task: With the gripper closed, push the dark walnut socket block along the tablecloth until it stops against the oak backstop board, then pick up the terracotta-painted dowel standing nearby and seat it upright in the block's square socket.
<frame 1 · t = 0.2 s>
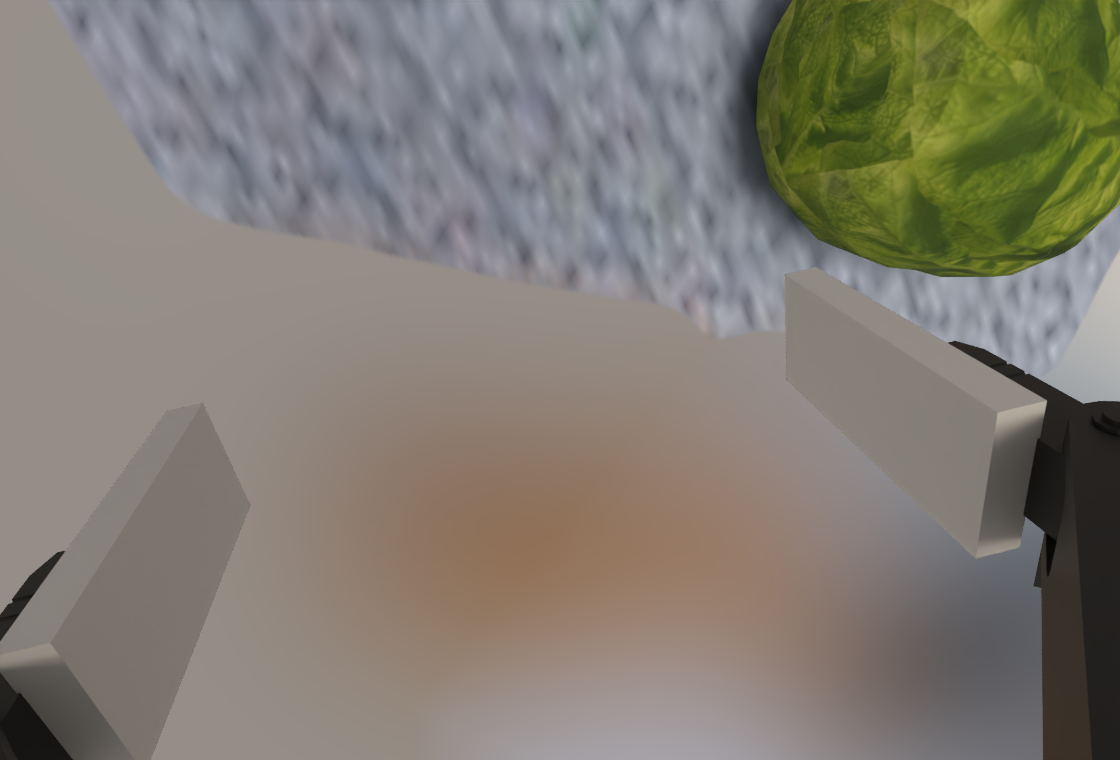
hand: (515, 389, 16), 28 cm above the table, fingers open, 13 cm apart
lettuce: (882, 113, 43), on the table
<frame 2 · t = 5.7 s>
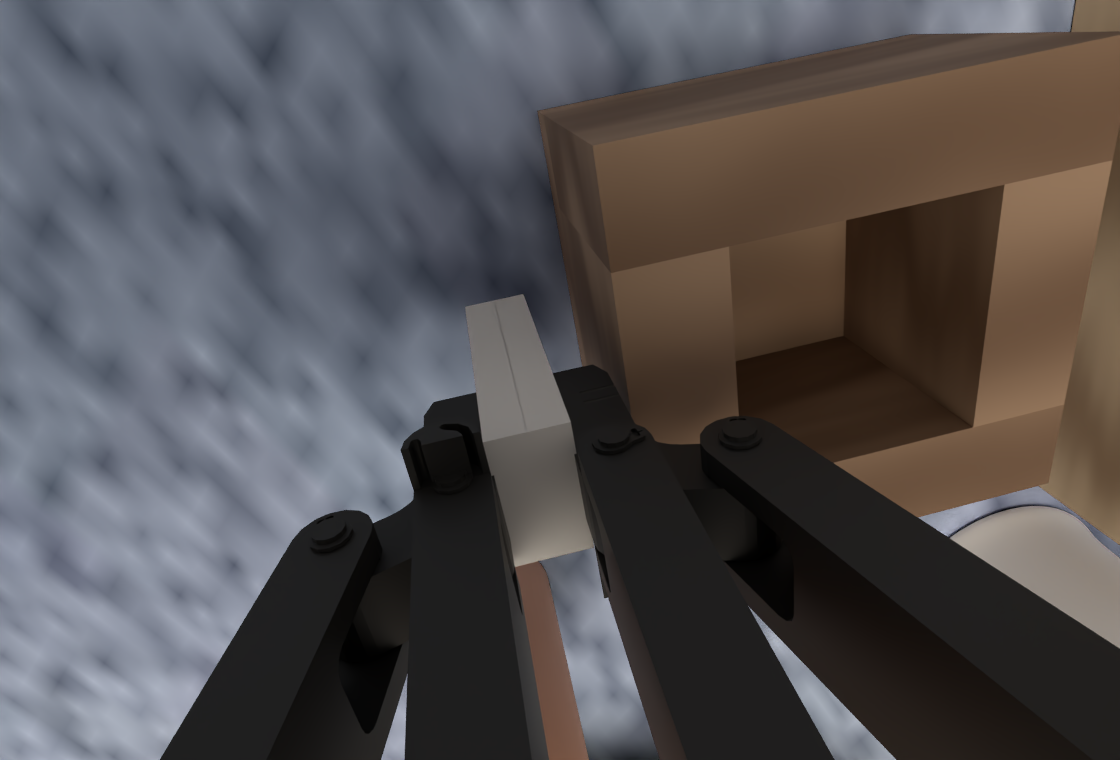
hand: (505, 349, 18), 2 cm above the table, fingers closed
mug: (1021, 582, 29), on the table
block: (790, 294, 17), point 3 cm above the table, slide at 1.3 cm, touching gripper
backstop: (1092, 177, 21), on the table
dowel: (497, 590, 24), on the table
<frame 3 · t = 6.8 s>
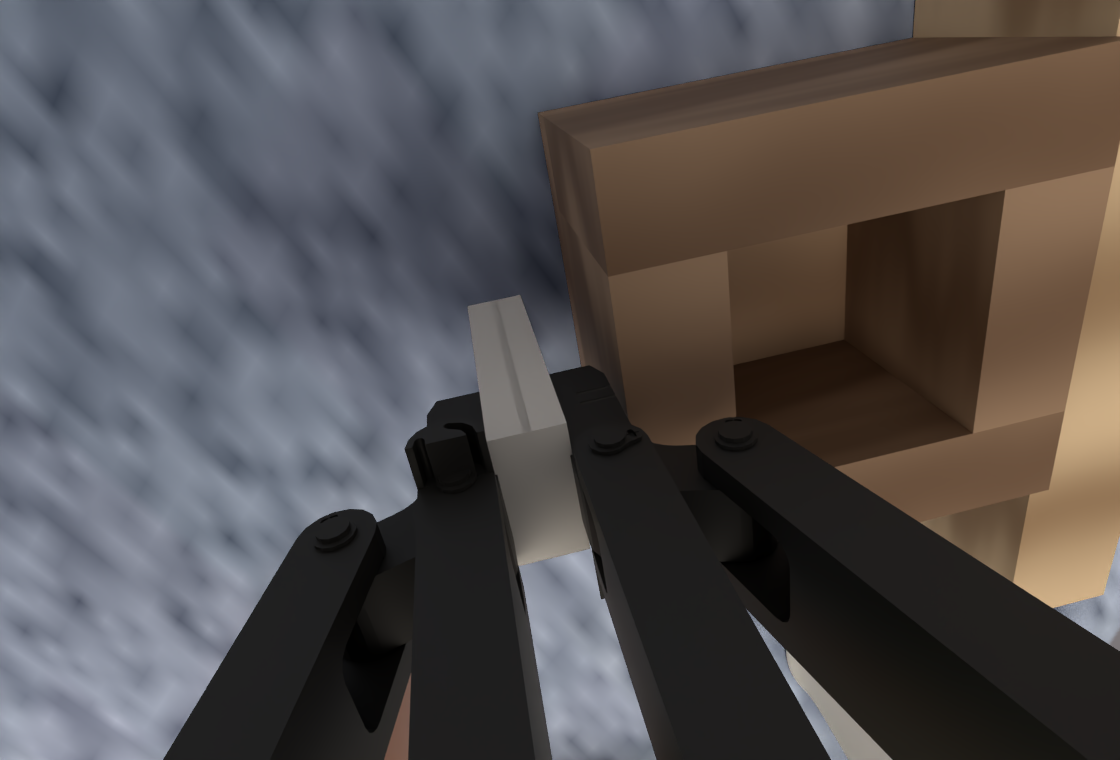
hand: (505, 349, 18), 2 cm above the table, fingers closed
mug: (916, 615, 28), on the table
block: (789, 298, 17), point 3 cm above the table, slide at 6.0 cm, touching backstop, gripper
backstop: (948, 214, 20), on the table
dowel: (360, 625, 23), on the table
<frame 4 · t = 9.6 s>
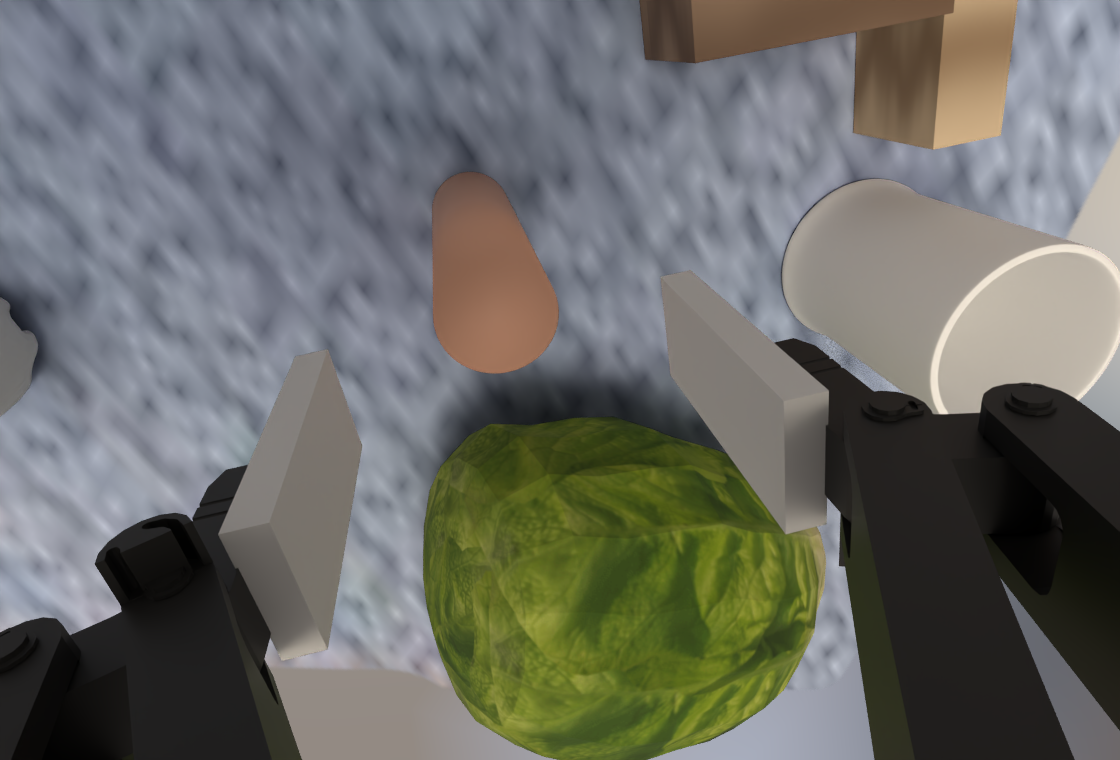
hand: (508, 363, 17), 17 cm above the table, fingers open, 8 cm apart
mug: (881, 259, 37), on the table
lettuce: (604, 495, 41), on the table
dowel: (471, 211, 32), on the table
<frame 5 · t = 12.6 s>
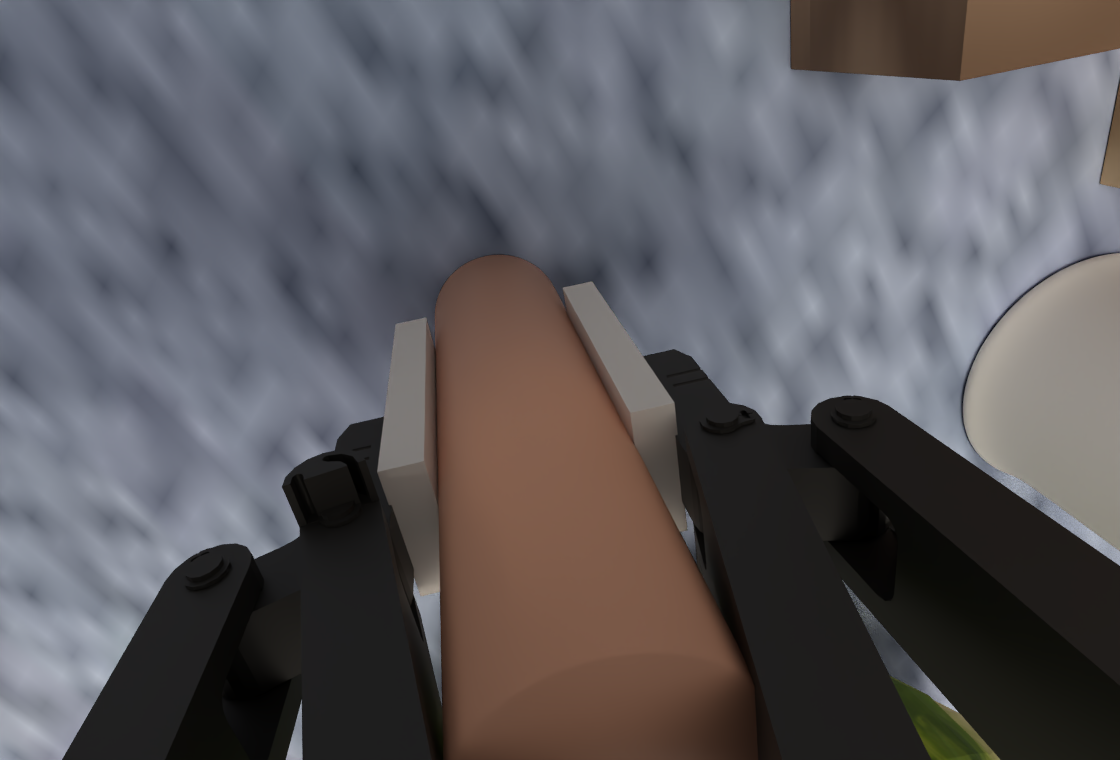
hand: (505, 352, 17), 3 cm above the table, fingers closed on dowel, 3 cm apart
mug: (1106, 367, 25), on the table
lettuce: (679, 690, 28), on the table
dowel: (498, 316, 20), on the table, touching gripper
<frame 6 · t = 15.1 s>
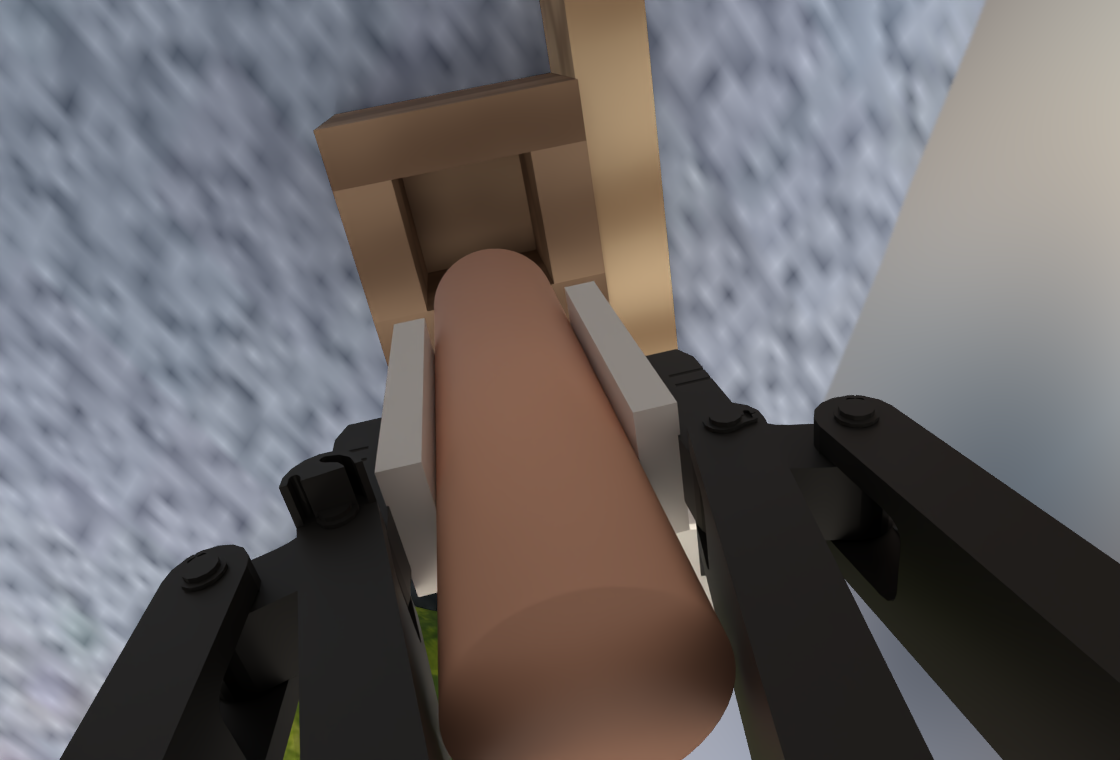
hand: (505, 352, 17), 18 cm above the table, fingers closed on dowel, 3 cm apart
mug: (642, 452, 42), on the table
block: (472, 216, 31), point 3 cm above the table, slide at 6.0 cm
backstop: (597, 175, 34), on the table
lettuce: (416, 646, 46), on the table
dowel: (494, 307, 21), point 15 cm above the table, touching gripper
when the fingers open (8 cm above the table, at t = 17.6 s): dowel drops 3 cm, resting on block.
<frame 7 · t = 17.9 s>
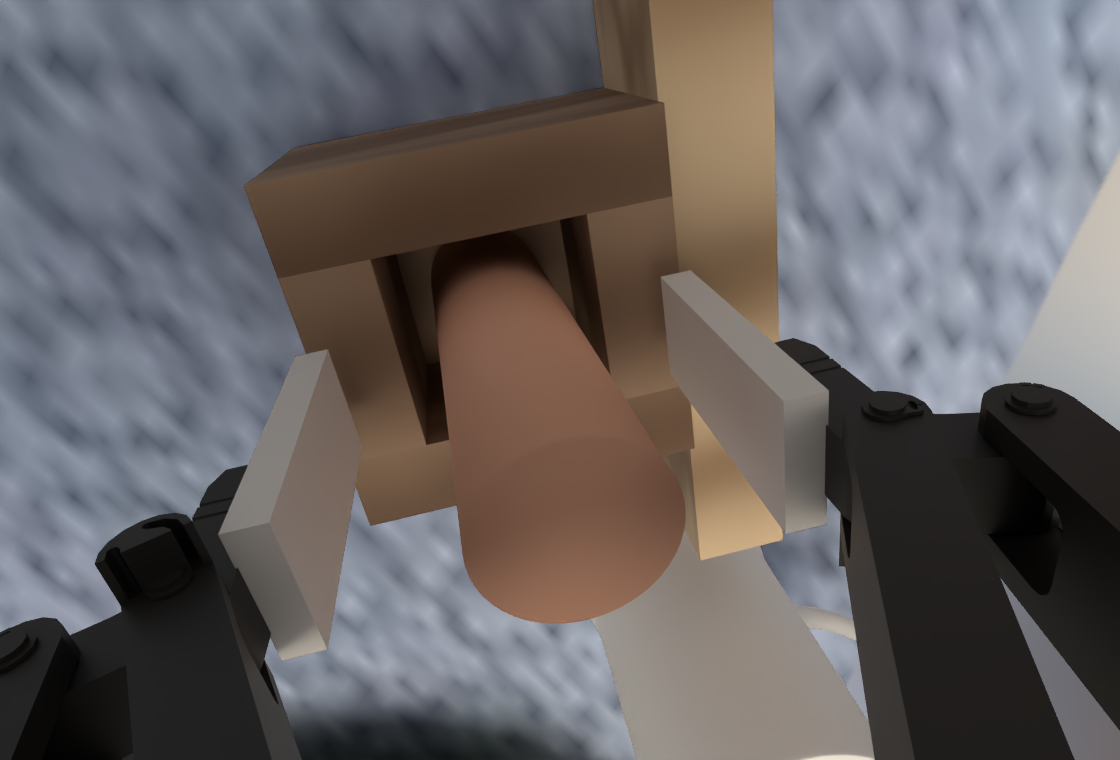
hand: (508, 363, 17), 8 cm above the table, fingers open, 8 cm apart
mug: (705, 574, 33), on the table
block: (492, 296, 21), point 3 cm above the table, slide at 6.0 cm, touching dowel
backstop: (662, 228, 25), on the table
dowel: (484, 278, 23), point 1 cm above the table, touching block
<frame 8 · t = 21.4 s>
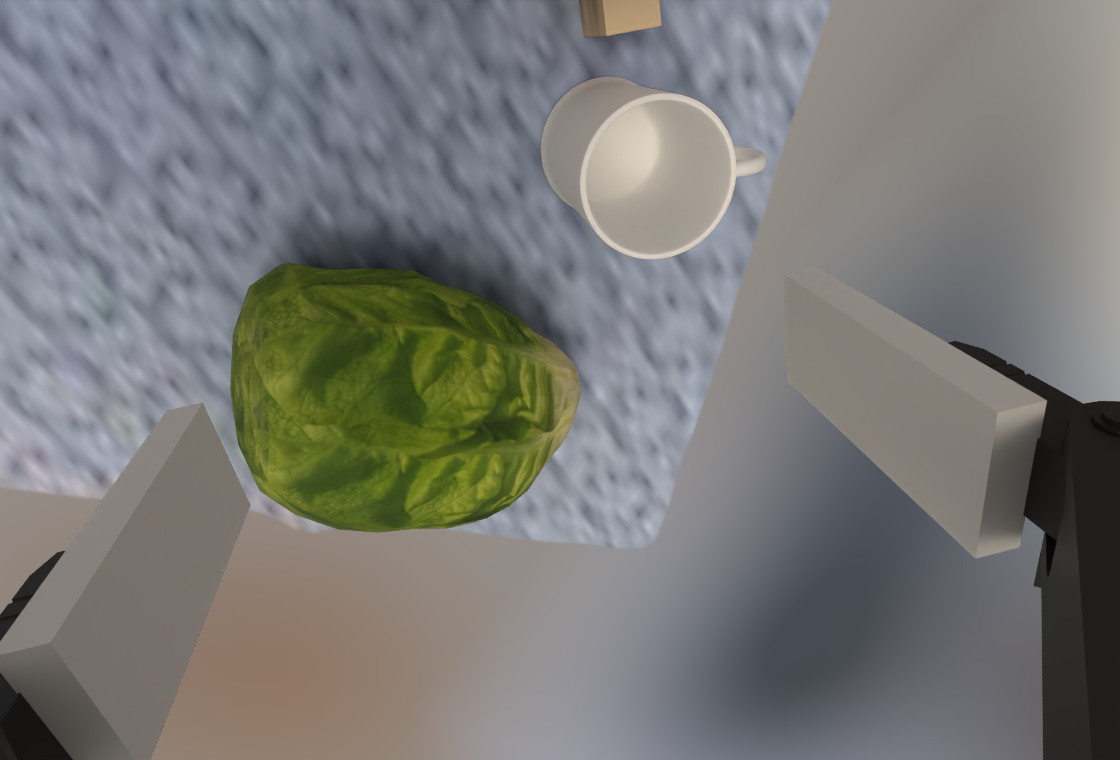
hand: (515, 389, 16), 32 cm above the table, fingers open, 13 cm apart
mug: (628, 149, 45), on the table
lettuce: (416, 354, 49), on the table
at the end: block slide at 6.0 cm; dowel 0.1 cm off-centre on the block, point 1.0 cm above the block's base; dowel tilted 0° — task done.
